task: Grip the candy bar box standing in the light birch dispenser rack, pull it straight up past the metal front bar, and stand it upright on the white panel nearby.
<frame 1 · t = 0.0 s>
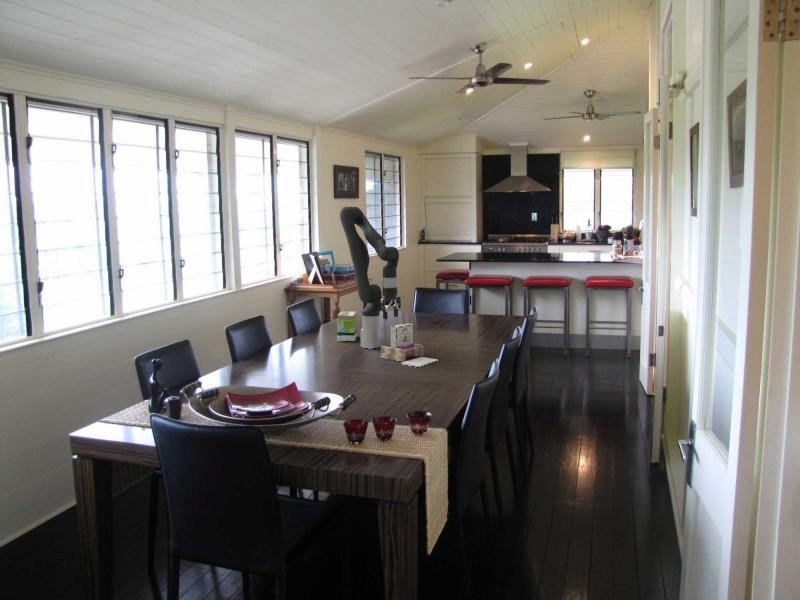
hand: (390, 318, 347), 17 cm above the table, tool pointing down, fingers open, 8 cm apart
dispenser rack: (402, 357, 335), on the table
white panel: (420, 363, 323), on the table
tea box: (347, 339, 380), on the table
candy bar box: (402, 358, 335), on the table
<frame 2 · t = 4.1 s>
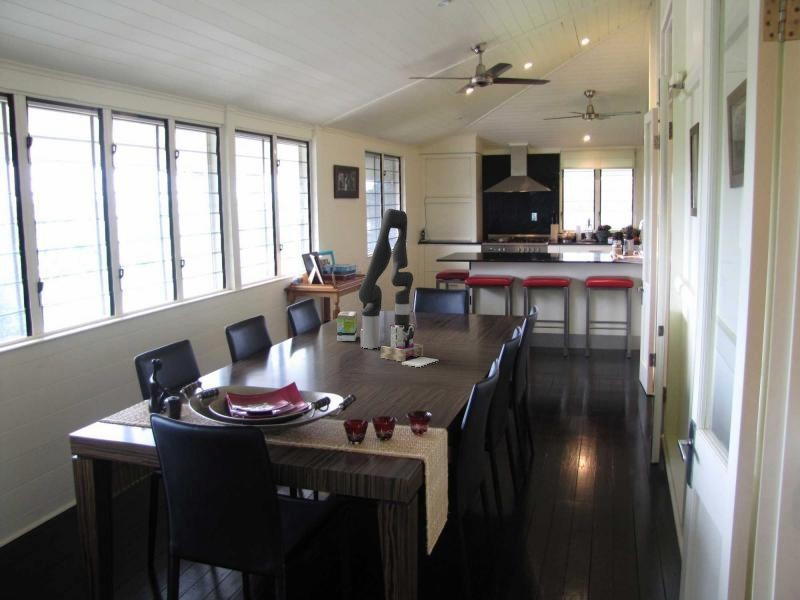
hand: (402, 346, 334), 6 cm above the table, tool pointing down, fingers closed on candy bar box, 5 cm apart
candy bar box: (401, 358, 335), on the table, touching gripper
everything else where it was.
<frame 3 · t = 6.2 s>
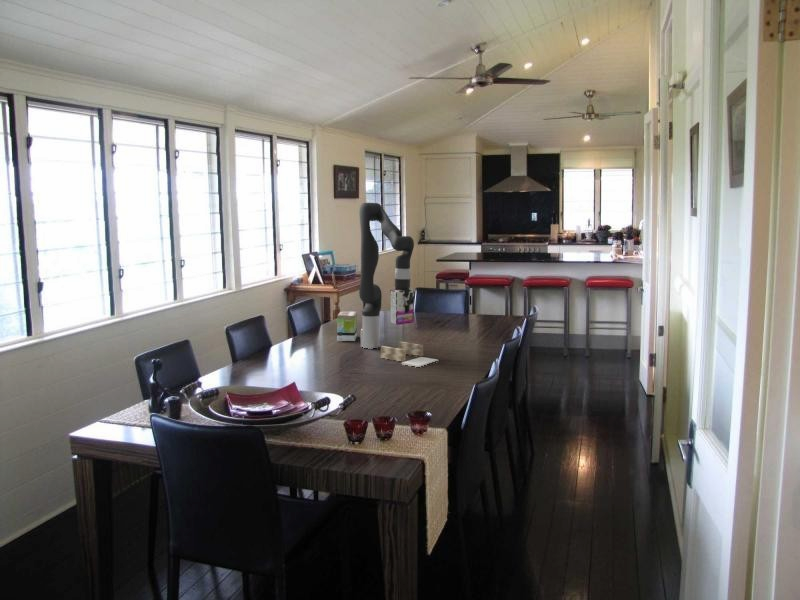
hand: (402, 311, 332), 23 cm above the table, tool pointing down, fingers closed on candy bar box, 5 cm apart
candy bar box: (401, 323, 333), point 17 cm above the table, touching gripper
everything else where it was.
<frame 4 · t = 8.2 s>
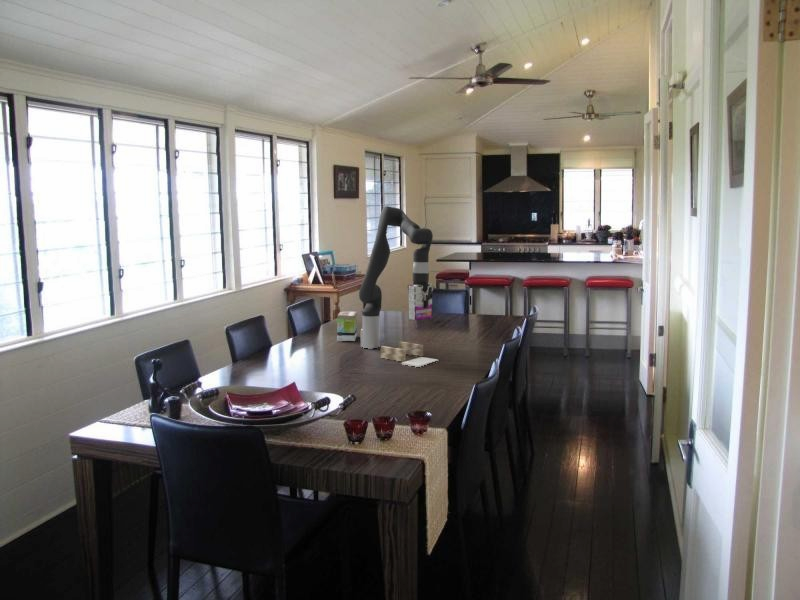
hand: (420, 307, 320), 27 cm above the table, tool pointing down, fingers closed on candy bar box, 5 cm apart
candy bar box: (420, 319, 321), point 21 cm above the table, touching gripper
everything else where it was.
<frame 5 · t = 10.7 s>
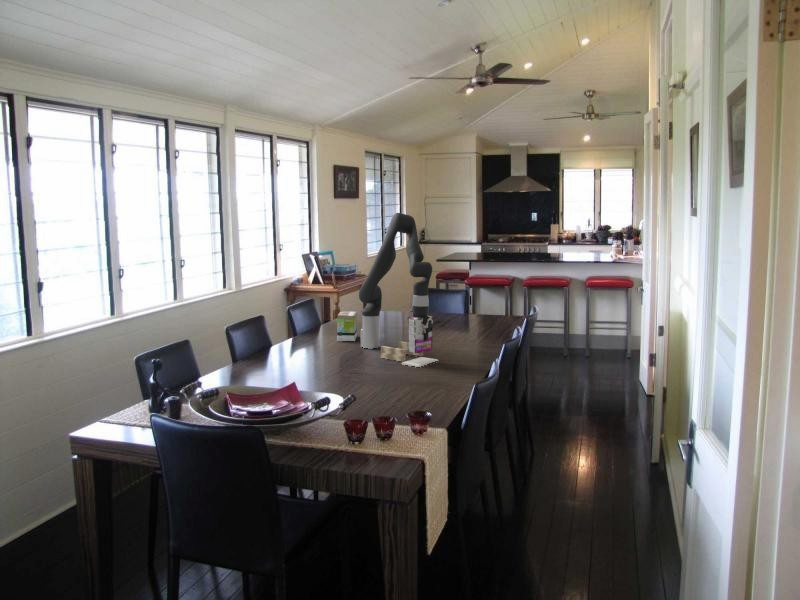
hand: (420, 339, 322), 11 cm above the table, tool pointing down, fingers closed on candy bar box, 5 cm apart
candy bar box: (420, 351, 323), point 6 cm above the table, touching gripper
everything else where it was.
when the fingers open (8 cm above the table, at t = 12.5 s): candy bar box drops 1 cm, resting on white panel.
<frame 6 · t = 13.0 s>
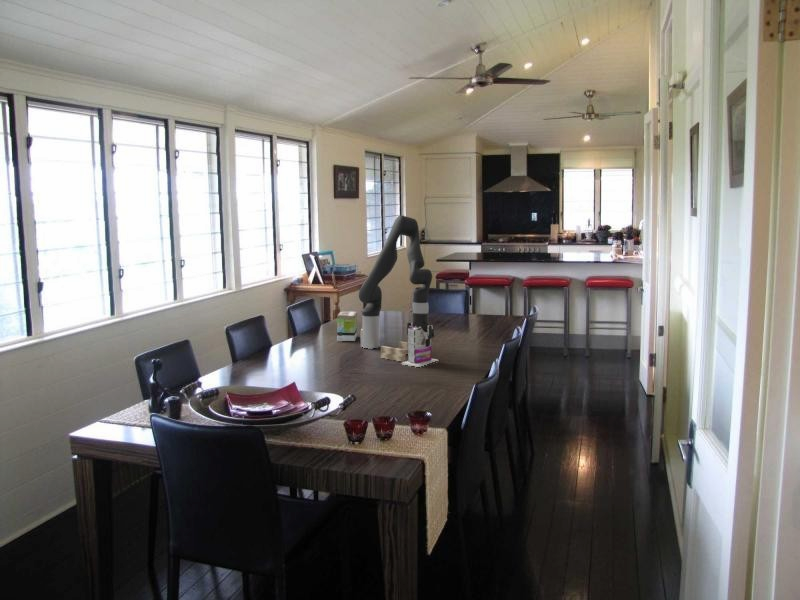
hand: (420, 345, 322), 9 cm above the table, tool pointing down, fingers open, 8 cm apart
candy bar box: (419, 361, 324), point 1 cm above the table, touching white panel
everything else where it was.
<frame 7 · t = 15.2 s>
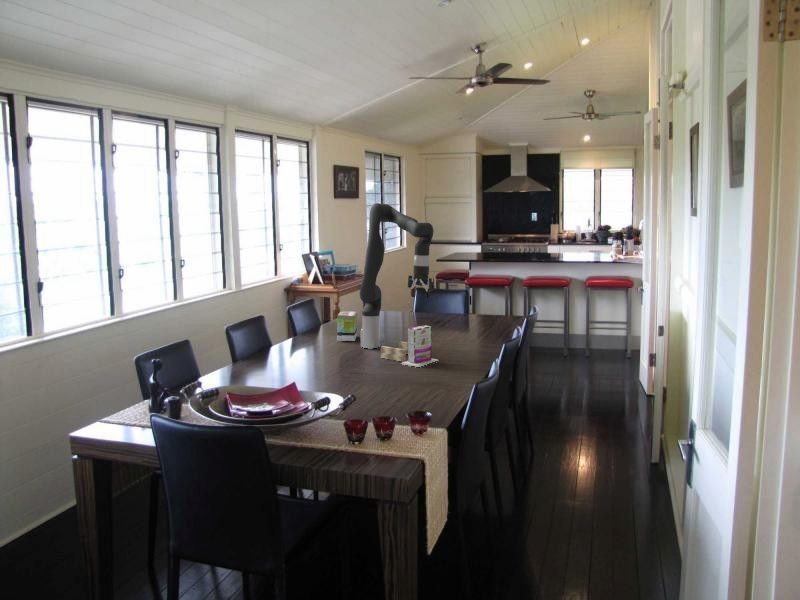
hand: (420, 298, 328), 30 cm above the table, tool pointing down, fingers open, 8 cm apart
nothing on the table moved.
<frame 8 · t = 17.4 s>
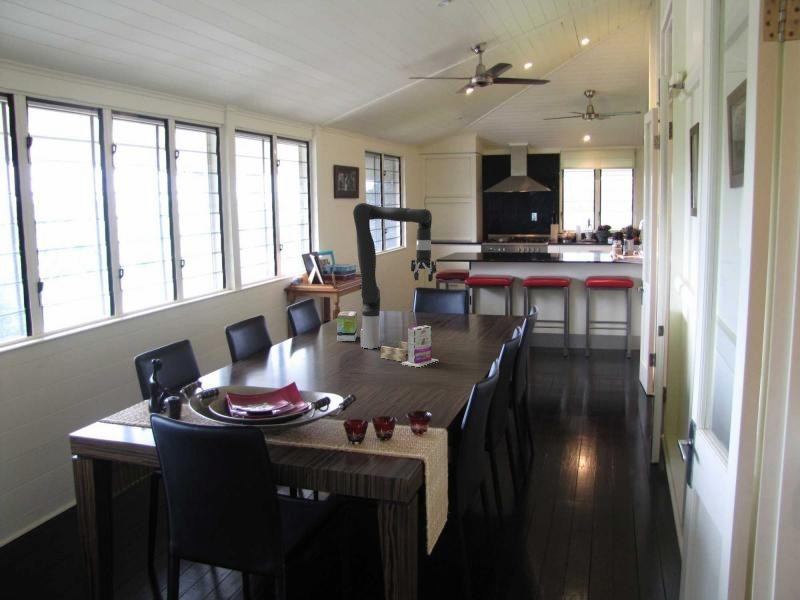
hand: (423, 280, 347), 36 cm above the table, tool pointing down, fingers open, 8 cm apart
nothing on the table moved.
at the end: candy bar box inside the target area on the white panel (0.3 cm from its centre), point 0.8 cm above the white panel's base; candy bar box tilted 0°; the gripper is holding nothing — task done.
